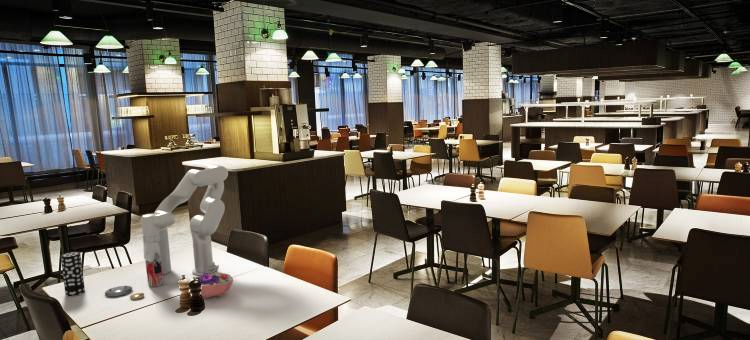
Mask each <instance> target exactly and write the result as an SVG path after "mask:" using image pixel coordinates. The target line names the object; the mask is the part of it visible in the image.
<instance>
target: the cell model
mask: <svg viewBox="0 0 750 340" xmlns="http://www.w3.org/2000/svg"><path fill="white" fill-rule="evenodd" d="M195 278H196V279H198V280H199V281H201V283H202V289H201V295H202V296H203V297H202V298H213V297H222V296H224V295H225V294H227V293H228V292H229V291H230V289H231V287H232V285H233V281H234V277H232V276H231V274H228V273H223V272H219V273H218V272H217V273H210V274H208V273H203V274H202V275H197V276H196V277H195Z"/></svg>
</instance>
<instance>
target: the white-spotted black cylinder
mask: <svg viewBox="0 0 750 340" xmlns="http://www.w3.org/2000/svg"><path fill="white" fill-rule="evenodd" d="M60 263H61V271H62V279H63V286H64V293H65V294H64V295H65V296H66V297H76V296H79V295H82V294H84V293H86V289H85V280H84V279H85V278H84V271H83V264H82V257H81V252H80V251H70V252H66V253H63V254H61V255H60Z"/></svg>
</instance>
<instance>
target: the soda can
mask: <svg viewBox="0 0 750 340" xmlns="http://www.w3.org/2000/svg"><path fill="white" fill-rule="evenodd" d="M156 260H157V259H156ZM157 262H158V261H157ZM157 262H156V263H157ZM154 266H155V265H154V262H149V261H147V264H146V263H145V269H147V272H146V276H147V277H146V278H147V284H148V286H149V287H150V288H157V287H160V286H162V285H163V283H164V274H162V265H161V273H157V274H155V272H154Z"/></svg>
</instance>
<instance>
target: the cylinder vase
mask: <svg viewBox="0 0 750 340" xmlns="http://www.w3.org/2000/svg"><path fill="white" fill-rule="evenodd" d="M158 229H159V241H158V242H159V248H160V256H161V265H162V274H163V275H167V274H168V273H170V272H171V271H172V263H171V254H170V242H169V231H168V227H159V228H158ZM144 260H145V259H144ZM144 262H145V263H144V264H146V260H145V261H144ZM145 269H146V268H145ZM145 271H146V273H147V269H146V270H145Z"/></svg>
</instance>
